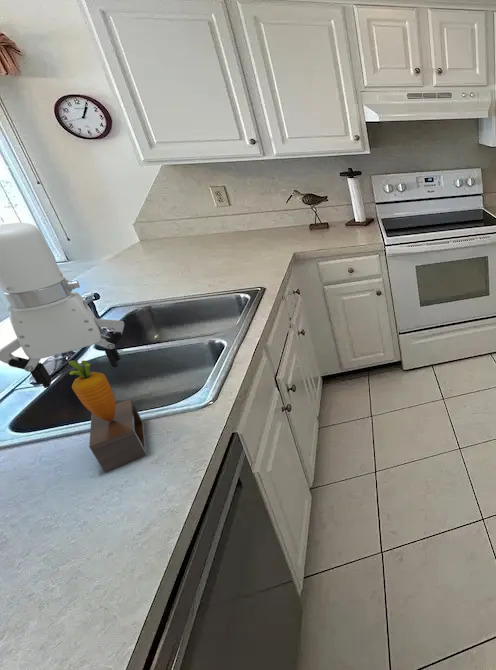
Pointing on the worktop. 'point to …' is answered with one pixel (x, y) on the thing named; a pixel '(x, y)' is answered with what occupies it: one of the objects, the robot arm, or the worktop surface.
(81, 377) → the carrot
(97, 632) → the worktop surface
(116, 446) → the shelf
